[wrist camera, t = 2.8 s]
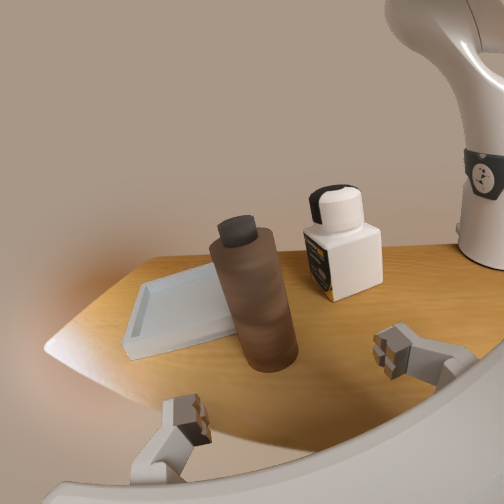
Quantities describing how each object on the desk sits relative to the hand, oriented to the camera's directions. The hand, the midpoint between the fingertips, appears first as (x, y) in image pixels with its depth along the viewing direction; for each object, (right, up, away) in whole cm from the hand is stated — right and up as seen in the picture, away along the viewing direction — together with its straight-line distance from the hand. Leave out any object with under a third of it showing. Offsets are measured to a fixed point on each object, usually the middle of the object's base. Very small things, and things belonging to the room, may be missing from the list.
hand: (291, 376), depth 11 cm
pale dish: (-10, -2, +26) cm, 28 cm away
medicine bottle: (+10, +2, +24) cm, 26 cm away
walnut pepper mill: (0, -4, +15) cm, 16 cm away
